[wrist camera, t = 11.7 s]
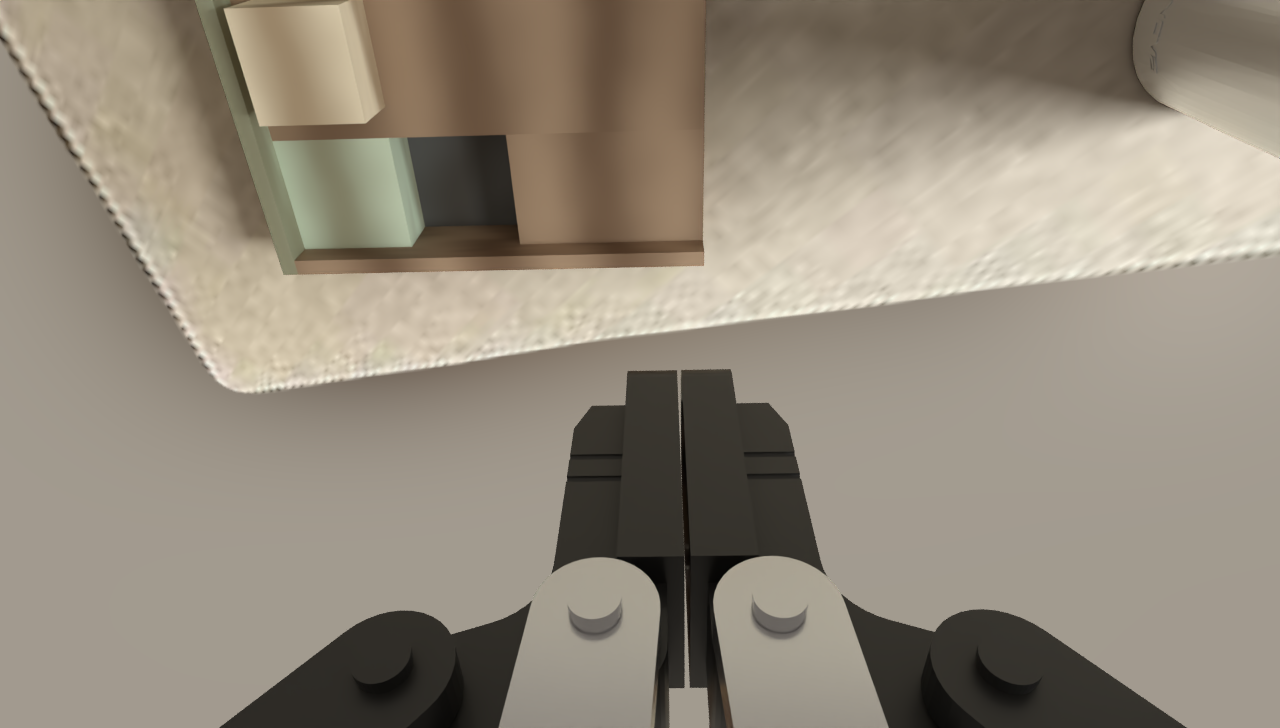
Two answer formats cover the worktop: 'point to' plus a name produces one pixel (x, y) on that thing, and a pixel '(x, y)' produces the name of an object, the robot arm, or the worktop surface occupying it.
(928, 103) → the worktop surface
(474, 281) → the worktop surface
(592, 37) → the trap box
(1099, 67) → the worktop surface
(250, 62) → the maple block
